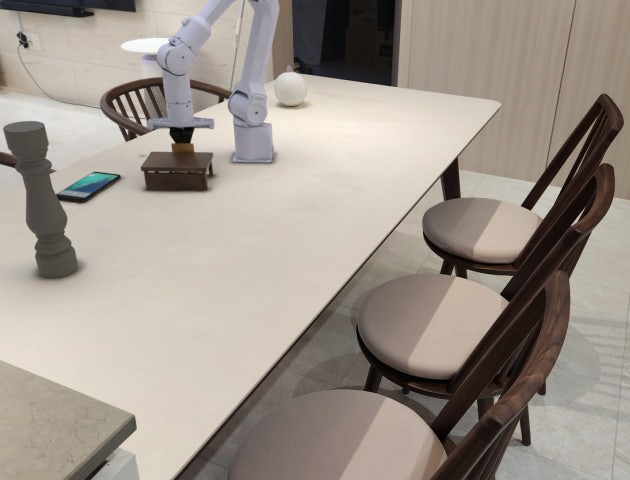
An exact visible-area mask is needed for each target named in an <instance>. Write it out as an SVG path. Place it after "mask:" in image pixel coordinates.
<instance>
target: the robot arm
mask: <svg viewBox="0 0 630 480" xmlns="http://www.w3.org/2000/svg"><path fill="white" fill-rule="evenodd" d="M235 1H237V0H208V1H207V2H206V4H205V5H204V7H203V8H202V10H201V11H200V12H199V14H198V15H190V16H188V18H183V19H182V20H181V22H180V23H181V24H182V25H181V26H180V28H178V30H177V31H176V33H174V35H173V36H170V37H168V39H167V41H168V43H164V44H162V45H161V46H160V47H159V48H158V49H157V52H156V56H155V57H154V59H155V61H156V64H157V65H158V67H160V68H161V76H162V85H163V92H164V99H165V105H166V113H167V116H166V117H157V118H149V119H148V120H147V125H148V130H152V131H153V130H155V129H160V130H161V129H169V132H168V134H169V137H170V138H171V139H172V141H173V143H191V142H192V139H193V135H194V132H195V129H209V130H215V127H216V126H215V124H216V123H215V118H208V117H198V116H197V117H196V116H194V107H193V106H194V105H193V97H192V89H191V79H190V72H189V71H190V70H191V69H192V67H193V59H194V57H195V56H196V55H197V54H198V53H199V52H200V50H201V49H202V48H203V47H204V45H205V44H206V42H207V41H208V40H209V39H210V38H211V37H212V26H213V25H214V24H215V23H216V22H217V21H218V20H219V18H221V16H222V15H223V14H225V12H226V11H227V10H228V9H229V8H230V7H231V5H232V4H233V3H234V2H235ZM247 2H248V3H249V4H250V6H251V8H252V9H253V16H252V21H251V26H250V31H249V35H248V42H247V47H246V52H245V57H244V62H243V65H242V72H241V77H240V79H239V80H238V81H237V82H236V83H235V85H234V87H233V91H232V93H231V94H230V96H229V97H228V100H227V110H228V111H229V113H230V114H231V115H232V123H233V124H232V125H233V138H234V150H235V152H234V155H233V158H232V163H261V164H263V163H264V164H265V163H268V164H269V163H272V162H273V156H274V153H275V148H274V147H275V145H274V144H273V143H274V140H273V139H274V138H273V125H272V122H271V123H270V122H265V121H266V119H267V116H268V106H267V100H268V95H267V91H266V89H265V86H264V85H265V79H266V75H267V71H268V67H269V62H270V61H269V60H270V56H271V51H272V47H273V42H274V37H275V33H276V28H277V23H278V19H279V14H280V2H279V0H247Z"/></svg>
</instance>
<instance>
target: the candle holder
mask: <svg viewBox="0 0 630 480" xmlns="http://www.w3.org/2000/svg"><path fill="white" fill-rule="evenodd" d="M2 130H3V134H4V138H5V141H6V145H7V149H8V150H9V151H10V153H11V155H12V156H13V157H14V158H15V159H16V160H17V163H16V164H15V165H14V169H15V171H16V172H17V173H19V174H20V175H21V177H22V180H23V185H24V188H25V189H24V190H25V224H26V226H27V228H28V229H29V231H31V233H33V234H34V235H35V237H36V239H37V240H36V242H35V245H34V247H33V248H34V251H35V254H34V259H35V261H36V266H37V269H38V273H39V275H40V276H41V277H43V278H46V279H60V278H61V279H62V278H65V277H68V276H71V275H73V274H74V273H75V272H77V270H78V269H79V261H78V257H77V253H76V249H75V248H74V247H73V245H72V240H71V239H70V238H69V237H67V235H66V234H65V233H66V227H67V224H68V215H67V213H66V211H65V209H64V206H63V205H62V203H61V201H60V199H58V197H57V196H56V194H57V193H56V191H55V190H54V188H53V184H52V179H51V174H50V170H51V169H52V166H53V163H52V161H51V160H50V159H47V158H46V157H47V153H48V151H49V145H50V143H49V138H48V134H47V129H46V125H45V123H44V122H42V121H38V120H22V121H21V120H20V121H15V122H12V123H8V124H6V125H4V126H3V128H2Z"/></svg>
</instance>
